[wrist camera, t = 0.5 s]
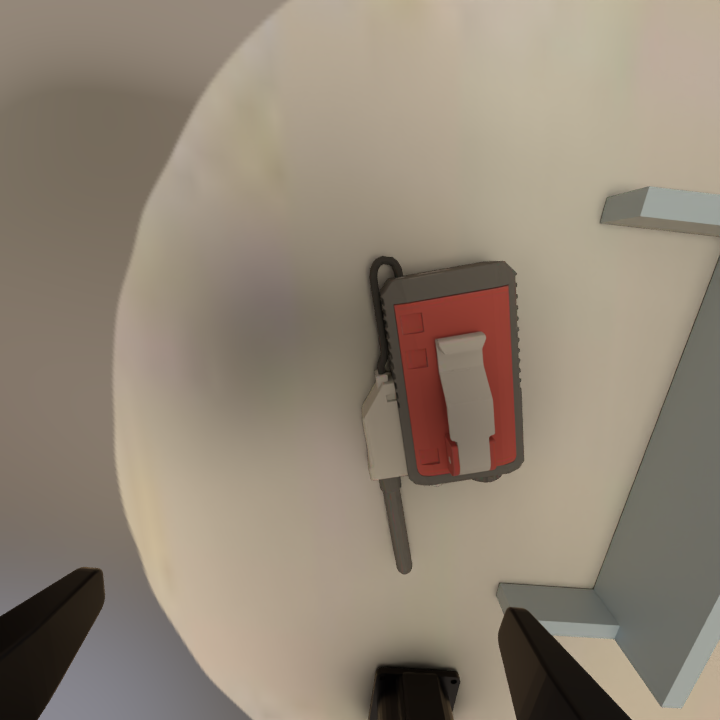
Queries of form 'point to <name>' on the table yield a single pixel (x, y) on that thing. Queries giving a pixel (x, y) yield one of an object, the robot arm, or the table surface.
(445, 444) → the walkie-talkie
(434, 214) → the table surface
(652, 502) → the mounting bracket
